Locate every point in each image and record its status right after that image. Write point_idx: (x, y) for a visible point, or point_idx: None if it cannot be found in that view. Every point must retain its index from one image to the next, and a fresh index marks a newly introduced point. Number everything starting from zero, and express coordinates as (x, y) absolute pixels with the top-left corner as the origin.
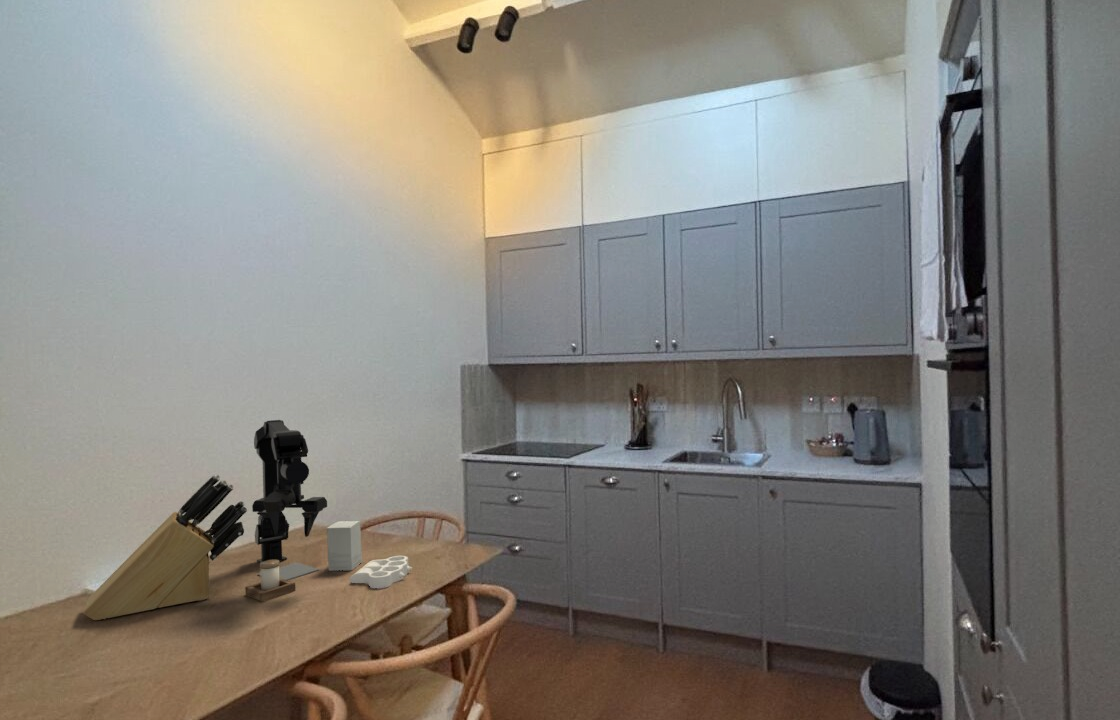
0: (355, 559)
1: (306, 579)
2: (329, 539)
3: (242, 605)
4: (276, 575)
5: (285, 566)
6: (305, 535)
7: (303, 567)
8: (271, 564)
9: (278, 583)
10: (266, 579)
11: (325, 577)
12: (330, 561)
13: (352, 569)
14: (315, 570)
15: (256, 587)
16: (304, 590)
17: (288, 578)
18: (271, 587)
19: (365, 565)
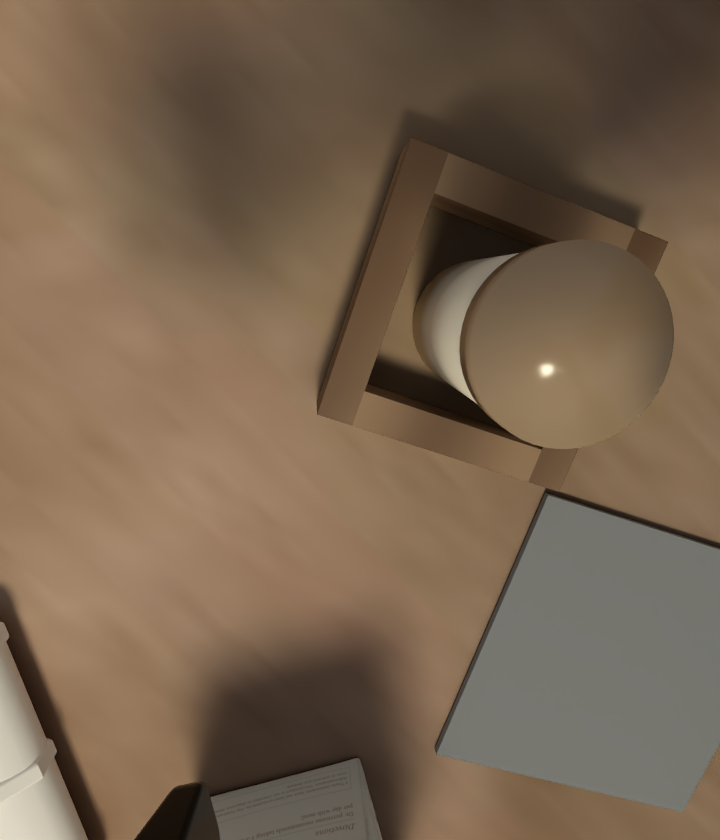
0: None
1: (398, 596)
2: None
3: (503, 51)
4: (441, 332)
5: (707, 734)
6: (185, 798)
7: (569, 751)
8: (494, 288)
9: (427, 349)
10: (492, 259)
11: (290, 658)
12: (347, 818)
13: None
14: (445, 730)
15: None
16: (251, 422)
17: (527, 565)
18: (440, 283)
19: (22, 835)
